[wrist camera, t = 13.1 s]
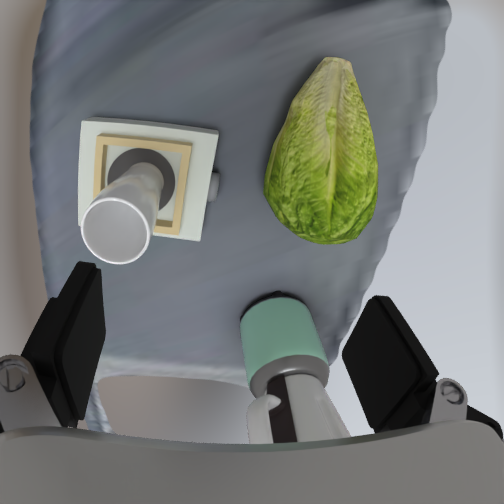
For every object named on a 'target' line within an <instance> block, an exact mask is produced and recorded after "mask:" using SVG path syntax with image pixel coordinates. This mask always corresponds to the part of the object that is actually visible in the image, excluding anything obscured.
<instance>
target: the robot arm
mask: <svg viewBox="0 0 504 504" xmlns="http://www.w3.org/2000/svg"><path fill="white" fill-rule="evenodd" d="M105 335H106V328H105V318H104V307H103V293H102V276H101V269H98V268H96V265H95V263H88V262H82V261H79V262H78V263H77V264H76V266H75V267H74V269H73V271H72V273H71V274H70V276H69V278H68V279H67V281H66V283H65V285H64V287H63V288H62V290H61V292H60V294H59V296H58V297H57V298H54V297H52V298H50V300H49V301H48V303H47V305H46V306H45V308H44V310H43V312H42V314H41V316H40V318H39V319H38V322H37V323H36V325H35V327H34V329H33V331H32V333H31V335H30V337H29V339H28V341H27V343H26V345H25V347H24V350H23V352H22V354H21V356H19V355H5V356H2V357H0V504H504V439H503V432H502V429H501V426H500V425H499V423H498V422H497V421H495V420H493V419H492V418H490V417H488V416H487V415H485V414H483V413H481V412H479V411H477V410H476V409H474V408H472V407H470V406H469V405H467V394H466V392H465V390H464V389H463V387H462V386H461V385H460V384H459V383H458V382H456V381H454V380H452V379H449V378H443V379H440V380H439V381H438V382H436V380H435V379H436V377H437V376H438V375H439V372H438V371H437V369H436V367H435V366H434V364H433V362H432V361H431V359H430V358H429V356H428V355H427V353H426V351H425V350H424V348H423V347H422V345H421V343H420V342H419V340H418V339H417V337H416V336H415V334H414V333H413V331H412V329H411V328H410V326H409V325H408V323H407V322H406V320H405V319H404V318H403V316H402V314H401V313H400V311H399V310H398V309H397V307H396V306H395V304H394V303H393V301H392V300H391V299H390V298H389V297H388V296H377V295H376V296H374V297H372V299H369V300H368V302H367V304H366V306H365V308H364V310H363V312H362V314H361V316H360V318H359V320H358V322H357V324H356V326H355V328H354V329H353V331H352V334H351V335H350V337H349V339H348V341H347V343H346V345H345V346H344V349H343V351H342V359H343V361H344V364H345V366H346V369H347V371H348V373H349V376H350V378H351V381H352V383H353V385H354V388H355V391H356V393H357V396H358V398H359V401H360V403H361V406H362V408H363V411H364V413H365V416H366V418H367V421H368V424H369V426H370V427H371V428H373V429H374V432H375V434H369V435H362V436H355V437H347V438H338V439H329V440H319V441H308V442H293V443H272V444H216V443H195V442H194V443H193V442H180V441H169V440H159V439H149V438H140V437H132V436H125V435H118V434H111V433H105V432H98V431H91V430H83V429H77V424H78V420H83V419H84V417H85V413H86V408H87V404H88V400H89V396H90V392H91V388H92V384H93V380H94V376H95V372H96V369H97V365H98V361H99V358H100V354H101V351H102V347H103V344H104V341H105ZM68 426H69V427H73V428H67V427H68Z"/></svg>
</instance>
